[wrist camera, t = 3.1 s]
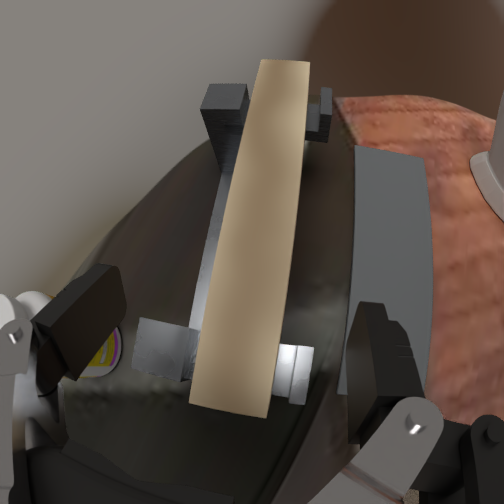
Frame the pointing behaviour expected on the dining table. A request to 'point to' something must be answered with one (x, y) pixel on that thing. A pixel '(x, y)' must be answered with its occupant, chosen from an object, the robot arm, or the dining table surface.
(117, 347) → the supplement bottle
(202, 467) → the dining table surface
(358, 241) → the mat
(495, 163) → the soap bottle
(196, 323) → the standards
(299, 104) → the rail
